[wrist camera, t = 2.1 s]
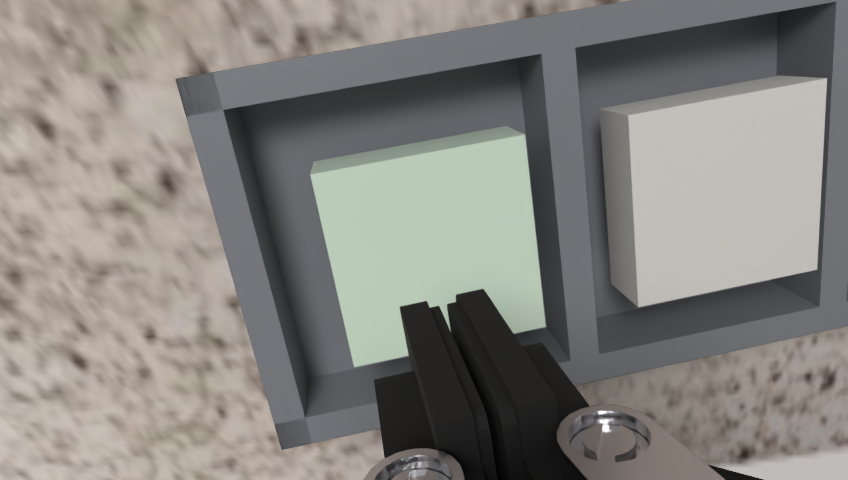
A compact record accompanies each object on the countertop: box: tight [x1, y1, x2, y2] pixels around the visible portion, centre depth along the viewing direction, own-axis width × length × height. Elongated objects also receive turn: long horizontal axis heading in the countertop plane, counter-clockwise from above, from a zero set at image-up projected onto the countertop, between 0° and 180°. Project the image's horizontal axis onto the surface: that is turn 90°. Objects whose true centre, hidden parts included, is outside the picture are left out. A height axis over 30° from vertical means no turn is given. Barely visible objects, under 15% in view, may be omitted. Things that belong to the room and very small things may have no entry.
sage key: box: [310, 126, 546, 367], centre depth 18 cm, size 6×6×2 cm
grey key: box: [599, 75, 827, 307], centre depth 19 cm, size 6×6×2 cm
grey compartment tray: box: [176, 0, 848, 450], centre depth 21 cm, size 30×12×4 cm, turn 99°
